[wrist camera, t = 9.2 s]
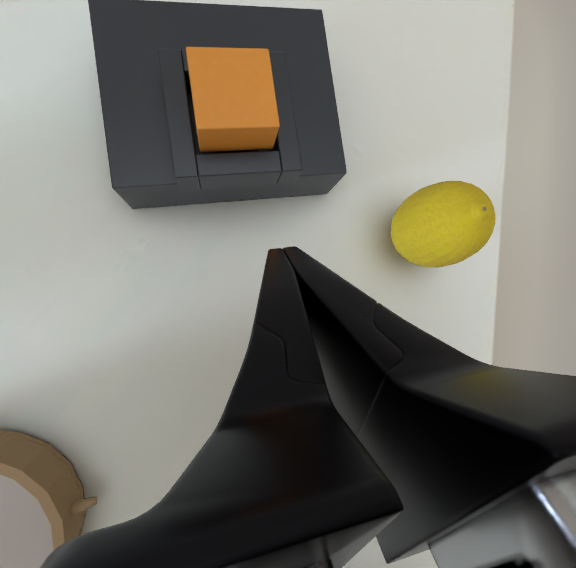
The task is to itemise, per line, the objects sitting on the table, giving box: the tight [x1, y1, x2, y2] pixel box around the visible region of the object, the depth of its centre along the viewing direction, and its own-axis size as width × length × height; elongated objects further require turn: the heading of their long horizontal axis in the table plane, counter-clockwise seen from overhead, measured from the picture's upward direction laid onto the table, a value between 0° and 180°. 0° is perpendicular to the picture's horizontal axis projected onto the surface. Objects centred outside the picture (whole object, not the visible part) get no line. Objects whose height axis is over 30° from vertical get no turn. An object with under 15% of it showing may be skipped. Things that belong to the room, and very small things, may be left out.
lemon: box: [391, 181, 495, 267], centre depth 21 cm, size 6×6×8 cm
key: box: [186, 47, 280, 152], centre depth 16 cm, size 4×4×2 cm
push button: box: [88, 0, 346, 209], centre depth 20 cm, size 12×14×6 cm
